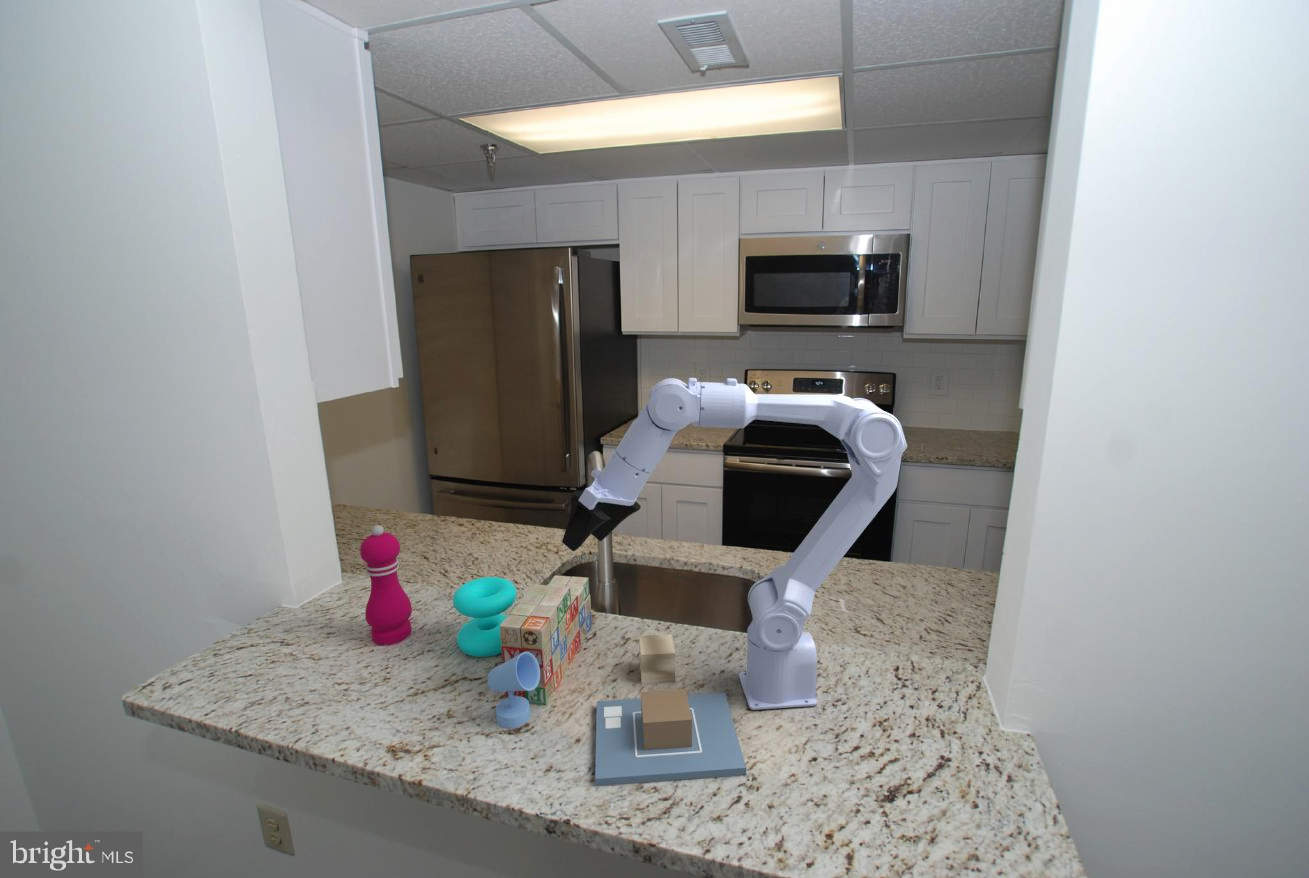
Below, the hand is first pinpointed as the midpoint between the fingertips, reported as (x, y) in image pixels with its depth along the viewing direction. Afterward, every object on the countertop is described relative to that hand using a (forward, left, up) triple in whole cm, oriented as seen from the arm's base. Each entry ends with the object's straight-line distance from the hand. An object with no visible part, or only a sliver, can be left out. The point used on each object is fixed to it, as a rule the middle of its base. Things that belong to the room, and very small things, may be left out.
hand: (582, 541), depth 85 cm
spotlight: (+10, +5, -24) cm, 26 cm away
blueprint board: (-10, +11, -23) cm, 28 cm away
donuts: (+17, -14, -24) cm, 32 cm away
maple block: (-10, -3, -23) cm, 26 cm away
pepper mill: (+34, -18, -24) cm, 45 cm away
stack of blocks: (+6, -8, -24) cm, 26 cm away
